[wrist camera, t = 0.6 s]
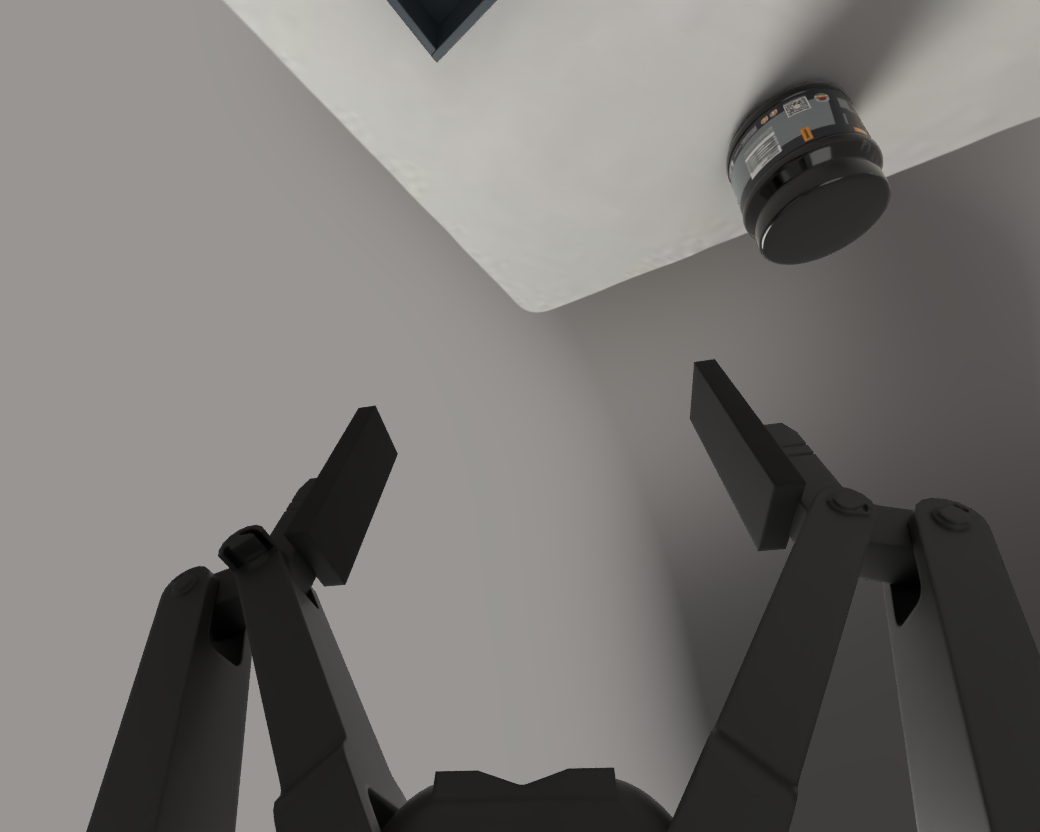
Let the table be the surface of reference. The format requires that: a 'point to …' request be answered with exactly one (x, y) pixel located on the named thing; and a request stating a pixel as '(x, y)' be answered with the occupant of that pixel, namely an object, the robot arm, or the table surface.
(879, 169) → the supplement container
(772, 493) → the robot arm
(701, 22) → the table surface
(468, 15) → the tray
